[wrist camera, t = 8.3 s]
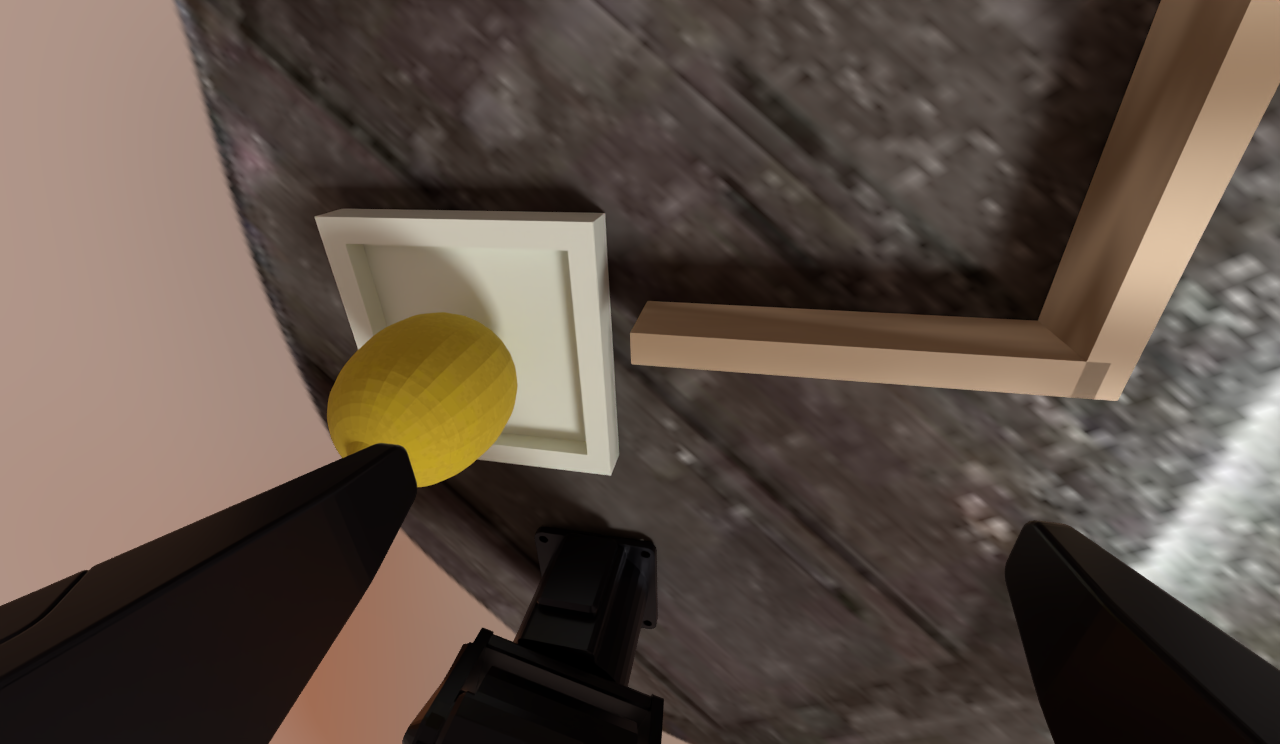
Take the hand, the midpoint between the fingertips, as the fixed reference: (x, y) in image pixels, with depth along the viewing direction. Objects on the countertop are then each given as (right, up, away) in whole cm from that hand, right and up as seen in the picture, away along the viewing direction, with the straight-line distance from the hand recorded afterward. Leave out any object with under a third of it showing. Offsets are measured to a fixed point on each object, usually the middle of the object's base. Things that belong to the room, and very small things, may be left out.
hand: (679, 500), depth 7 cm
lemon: (-7, +3, +14) cm, 16 cm away
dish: (-7, +3, +14) cm, 16 cm away
